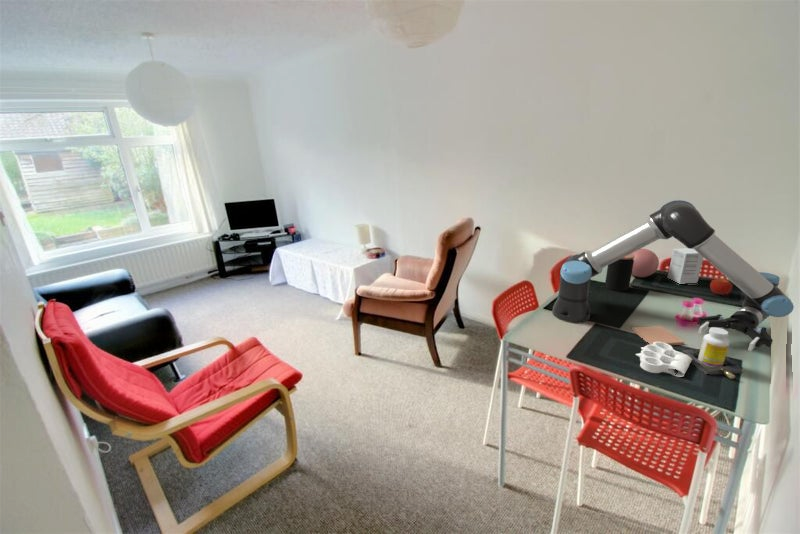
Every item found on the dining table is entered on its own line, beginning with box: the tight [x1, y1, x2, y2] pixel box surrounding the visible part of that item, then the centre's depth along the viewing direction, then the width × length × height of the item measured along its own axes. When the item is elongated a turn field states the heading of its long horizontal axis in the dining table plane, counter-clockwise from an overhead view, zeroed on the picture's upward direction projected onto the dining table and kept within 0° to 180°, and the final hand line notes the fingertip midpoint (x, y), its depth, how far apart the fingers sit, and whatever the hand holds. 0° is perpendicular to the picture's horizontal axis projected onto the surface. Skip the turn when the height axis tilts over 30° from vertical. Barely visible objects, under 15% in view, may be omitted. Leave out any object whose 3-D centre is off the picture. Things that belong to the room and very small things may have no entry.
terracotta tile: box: [631, 325, 685, 346], centre depth 140 cm, size 12×12×1 cm
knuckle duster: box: [635, 342, 692, 378], centre depth 125 cm, size 3×18×15 cm
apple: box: [709, 278, 733, 295], centre depth 170 cm, size 8×8×8 cm
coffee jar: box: [604, 253, 635, 292], centre depth 181 cm, size 11×11×18 cm
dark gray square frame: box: [680, 348, 744, 380], centre depth 122 cm, size 11×14×2 cm
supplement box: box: [667, 247, 704, 285], centre depth 185 cm, size 10×9×17 cm
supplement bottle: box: [697, 327, 730, 367], centre depth 121 cm, size 7×7×13 cm
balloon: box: [631, 248, 660, 278], centre depth 196 cm, size 15×20×15 cm
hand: (723, 338), depth 123 cm, fingers open, 13 cm apart
